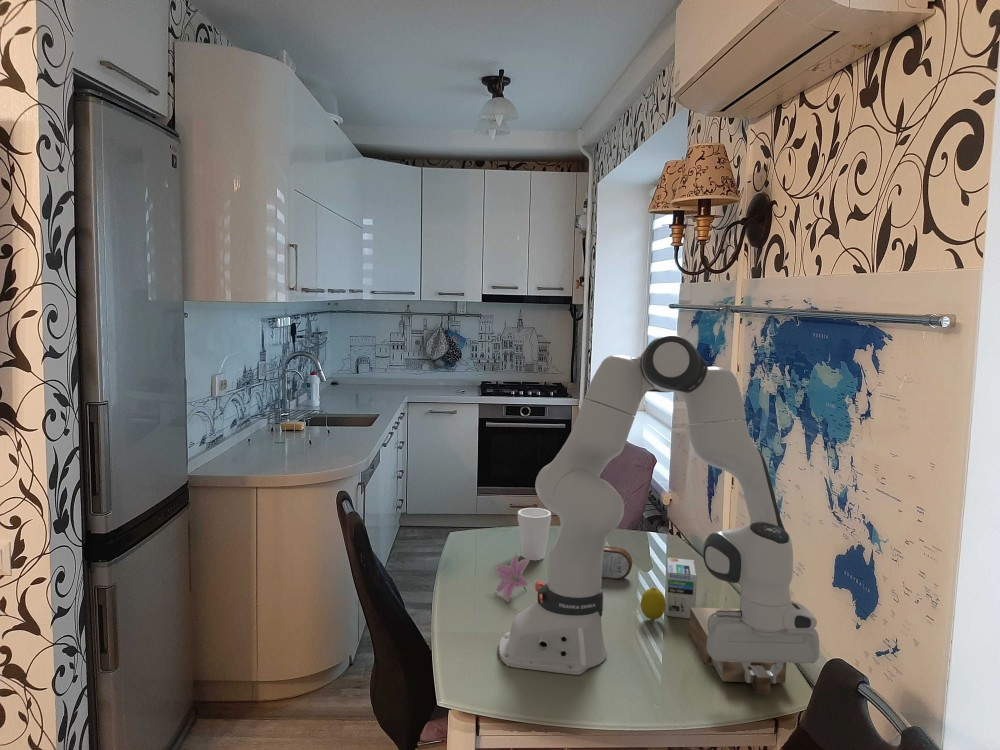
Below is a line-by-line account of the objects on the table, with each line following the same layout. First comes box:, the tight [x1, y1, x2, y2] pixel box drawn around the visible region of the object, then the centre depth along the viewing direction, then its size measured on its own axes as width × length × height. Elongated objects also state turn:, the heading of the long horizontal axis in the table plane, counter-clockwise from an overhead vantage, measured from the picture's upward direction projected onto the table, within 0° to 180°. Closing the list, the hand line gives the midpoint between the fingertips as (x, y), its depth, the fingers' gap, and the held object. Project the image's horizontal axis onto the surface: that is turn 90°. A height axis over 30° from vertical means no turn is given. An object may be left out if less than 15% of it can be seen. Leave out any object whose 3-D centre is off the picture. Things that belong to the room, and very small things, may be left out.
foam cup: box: [517, 507, 552, 561], centre depth 208 cm, size 10×9×13 cm
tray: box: [710, 657, 787, 694], centre depth 145 cm, size 12×18×4 cm, turn 0°
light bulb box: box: [665, 557, 698, 619], centre depth 175 cm, size 11×7×11 cm, turn 168°
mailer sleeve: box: [688, 607, 740, 666], centre depth 156 cm, size 14×14×6 cm
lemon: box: [640, 587, 666, 622], centre depth 169 cm, size 6×6×8 cm
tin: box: [601, 545, 633, 581], centre depth 194 cm, size 15×3×8 cm, turn 77°
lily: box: [495, 553, 531, 602], centre depth 182 cm, size 12×12×10 cm
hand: (760, 681), depth 138 cm, fingers closed on tray, 2 cm apart
